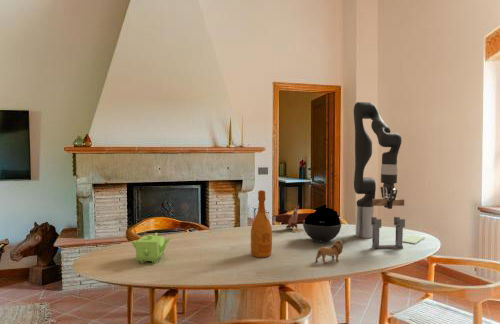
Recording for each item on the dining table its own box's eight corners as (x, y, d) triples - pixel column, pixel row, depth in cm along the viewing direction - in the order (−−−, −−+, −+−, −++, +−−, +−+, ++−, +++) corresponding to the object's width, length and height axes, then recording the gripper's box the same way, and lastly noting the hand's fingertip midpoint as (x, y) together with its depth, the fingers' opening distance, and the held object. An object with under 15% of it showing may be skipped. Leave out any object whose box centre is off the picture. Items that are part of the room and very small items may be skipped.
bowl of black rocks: (325, 248, 183) (325, 210, 182) (294, 240, 198) (295, 205, 197) (348, 241, 196) (349, 206, 195) (318, 235, 211) (318, 202, 210)
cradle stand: (375, 250, 181) (376, 219, 180) (370, 246, 187) (370, 217, 187) (404, 249, 182) (405, 219, 182) (398, 246, 189) (399, 216, 188)
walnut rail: (374, 205, 182) (375, 199, 182) (372, 204, 185) (372, 198, 185) (404, 205, 183) (404, 199, 183) (401, 204, 186) (401, 198, 186)
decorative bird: (280, 230, 206) (276, 204, 211) (268, 236, 222) (264, 211, 227) (324, 227, 216) (319, 202, 221) (309, 232, 232) (305, 209, 237)
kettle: (157, 253, 173) (157, 229, 172) (174, 260, 163) (174, 235, 162) (126, 260, 162) (126, 234, 162) (143, 268, 152) (143, 241, 152)
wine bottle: (257, 259, 165) (257, 192, 164) (246, 253, 174) (247, 189, 172) (275, 256, 169) (276, 191, 168) (265, 251, 178) (265, 188, 177)
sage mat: (415, 244, 192) (415, 243, 192) (399, 241, 197) (399, 240, 197) (424, 238, 205) (424, 237, 205) (409, 235, 210) (409, 234, 210)
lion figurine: (337, 258, 168) (338, 238, 167) (346, 261, 163) (346, 241, 163) (311, 262, 161) (311, 242, 161) (319, 266, 156) (319, 245, 156)
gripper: (403, 174, 176) (402, 210, 177) (389, 172, 190) (388, 205, 191) (388, 174, 176) (387, 210, 177) (375, 172, 190) (374, 205, 191)
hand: (388, 207), depth 184 cm, fingers closed on walnut rail, 3 cm apart
